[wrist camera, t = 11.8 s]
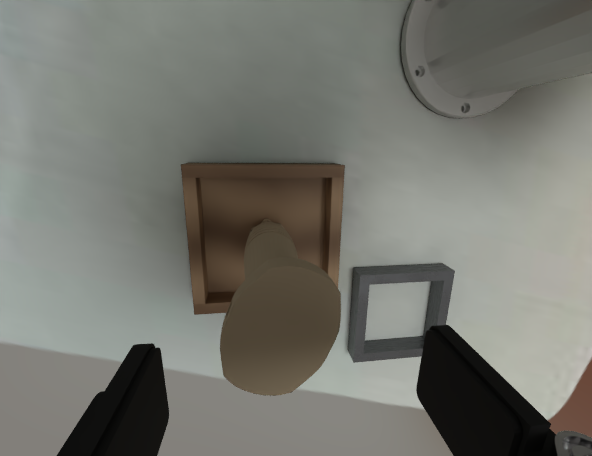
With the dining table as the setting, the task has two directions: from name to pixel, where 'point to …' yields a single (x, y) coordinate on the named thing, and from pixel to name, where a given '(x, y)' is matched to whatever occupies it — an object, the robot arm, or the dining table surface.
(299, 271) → the handle
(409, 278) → the collar
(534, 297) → the dining table surface
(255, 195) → the tray
